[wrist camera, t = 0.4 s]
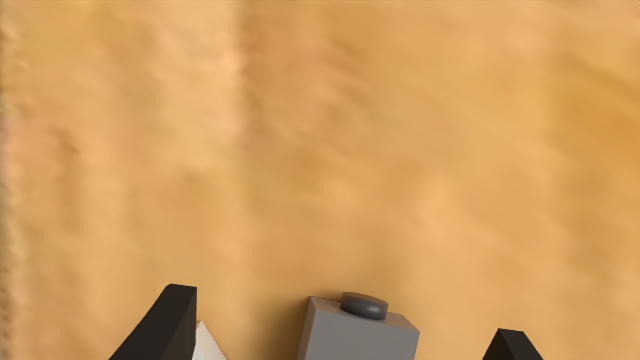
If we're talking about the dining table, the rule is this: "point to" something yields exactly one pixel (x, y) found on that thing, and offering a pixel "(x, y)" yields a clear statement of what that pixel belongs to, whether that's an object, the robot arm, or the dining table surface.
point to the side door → (206, 345)
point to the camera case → (355, 331)
